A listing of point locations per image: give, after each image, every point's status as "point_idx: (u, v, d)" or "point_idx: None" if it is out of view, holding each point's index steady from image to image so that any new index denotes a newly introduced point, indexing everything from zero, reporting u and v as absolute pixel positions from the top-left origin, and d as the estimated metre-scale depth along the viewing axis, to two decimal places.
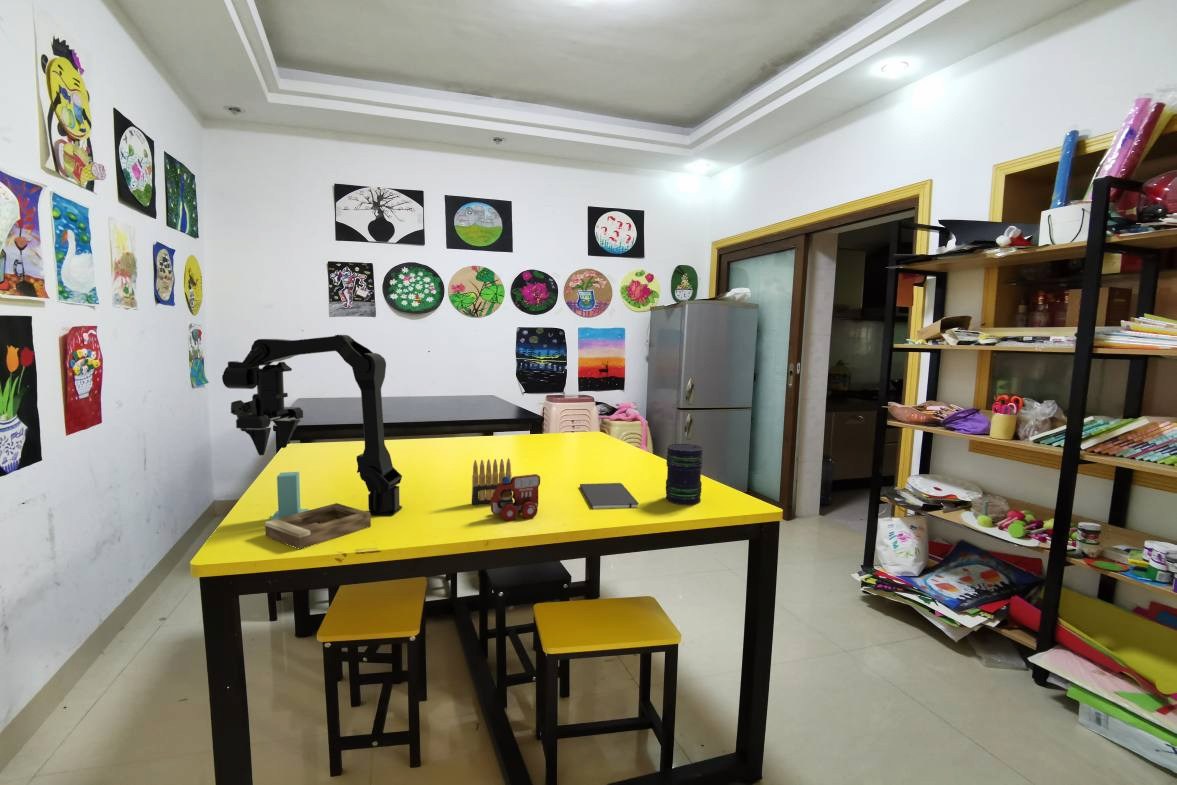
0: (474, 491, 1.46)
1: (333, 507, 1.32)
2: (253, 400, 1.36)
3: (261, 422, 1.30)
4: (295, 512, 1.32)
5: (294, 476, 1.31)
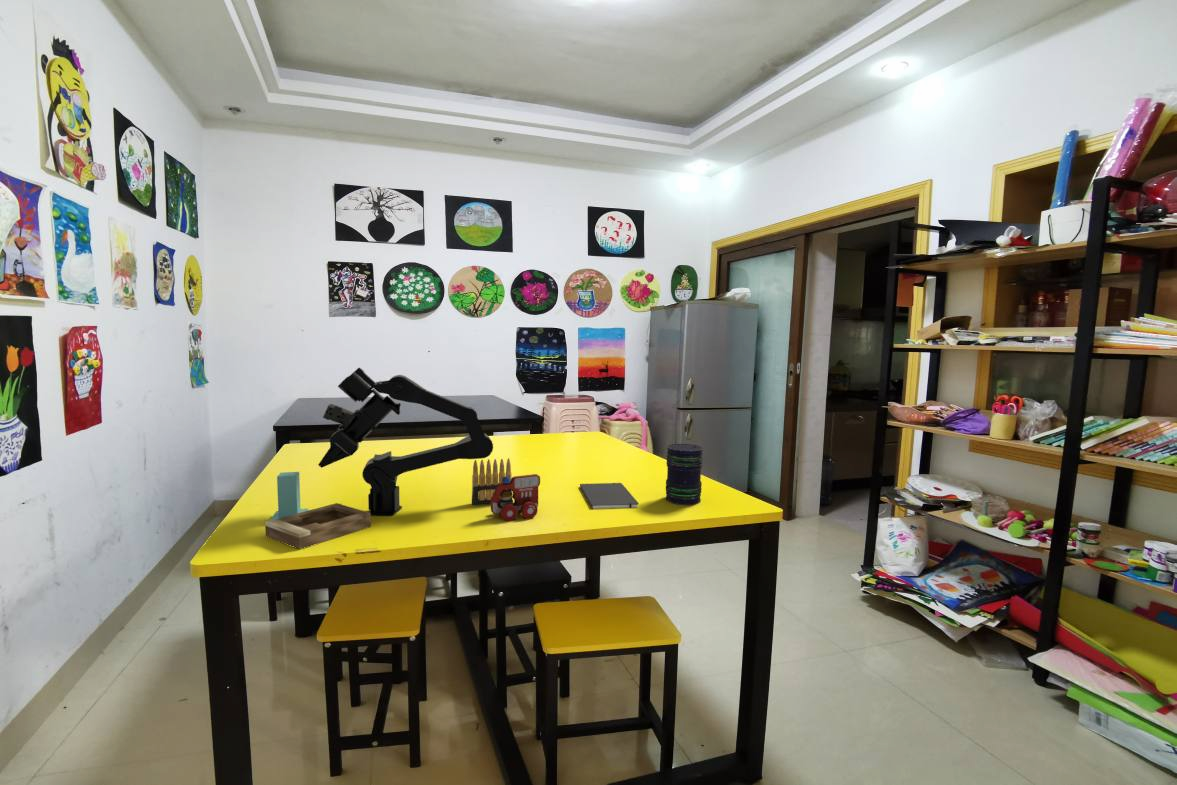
0: (474, 491, 1.46)
1: (333, 507, 1.32)
2: (352, 416, 1.33)
3: (355, 450, 1.28)
4: (295, 512, 1.32)
5: (294, 476, 1.31)
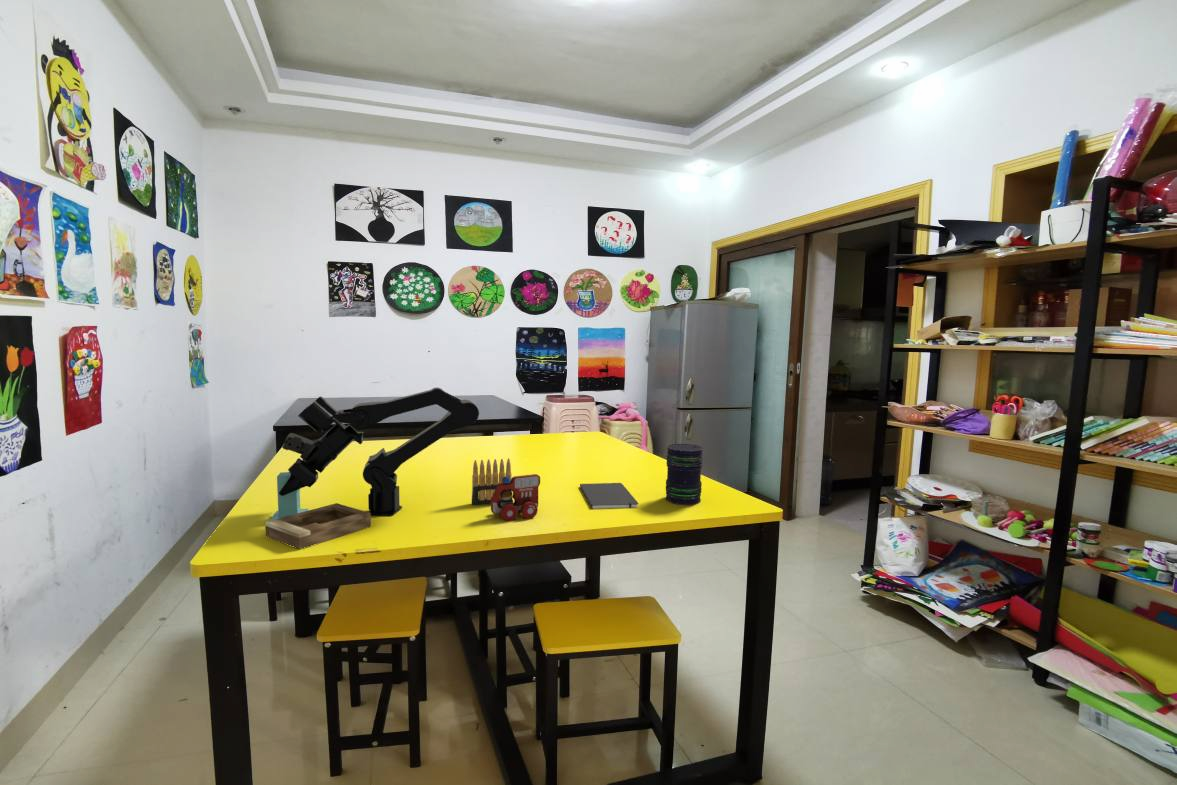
0: (474, 491, 1.46)
1: (333, 507, 1.32)
2: (312, 446, 1.31)
3: (314, 482, 1.26)
4: (295, 512, 1.32)
5: None
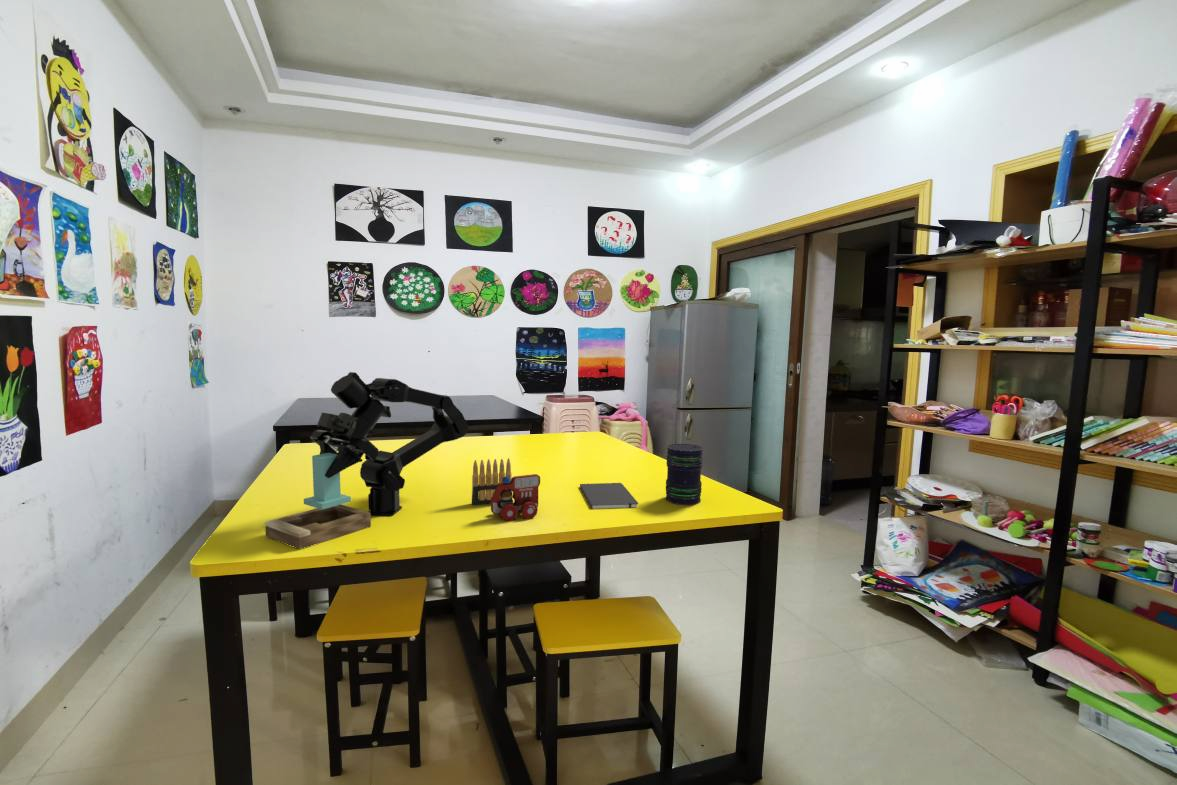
0: (474, 491, 1.46)
1: (333, 507, 1.32)
2: (355, 422, 1.28)
3: (377, 456, 1.26)
4: (339, 493, 1.26)
5: None
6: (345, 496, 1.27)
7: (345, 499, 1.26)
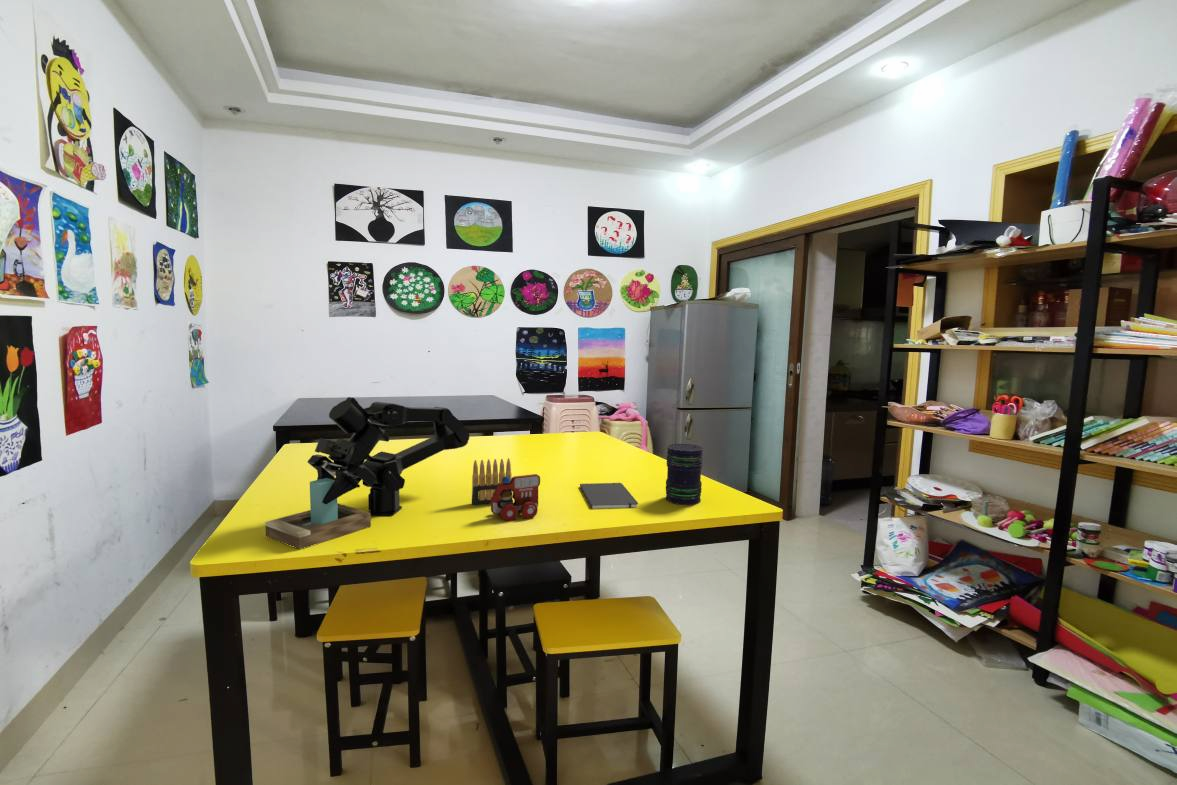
0: (474, 491, 1.46)
1: None
2: (352, 448, 1.28)
3: (374, 482, 1.26)
4: (336, 519, 1.26)
5: None
6: None
7: None
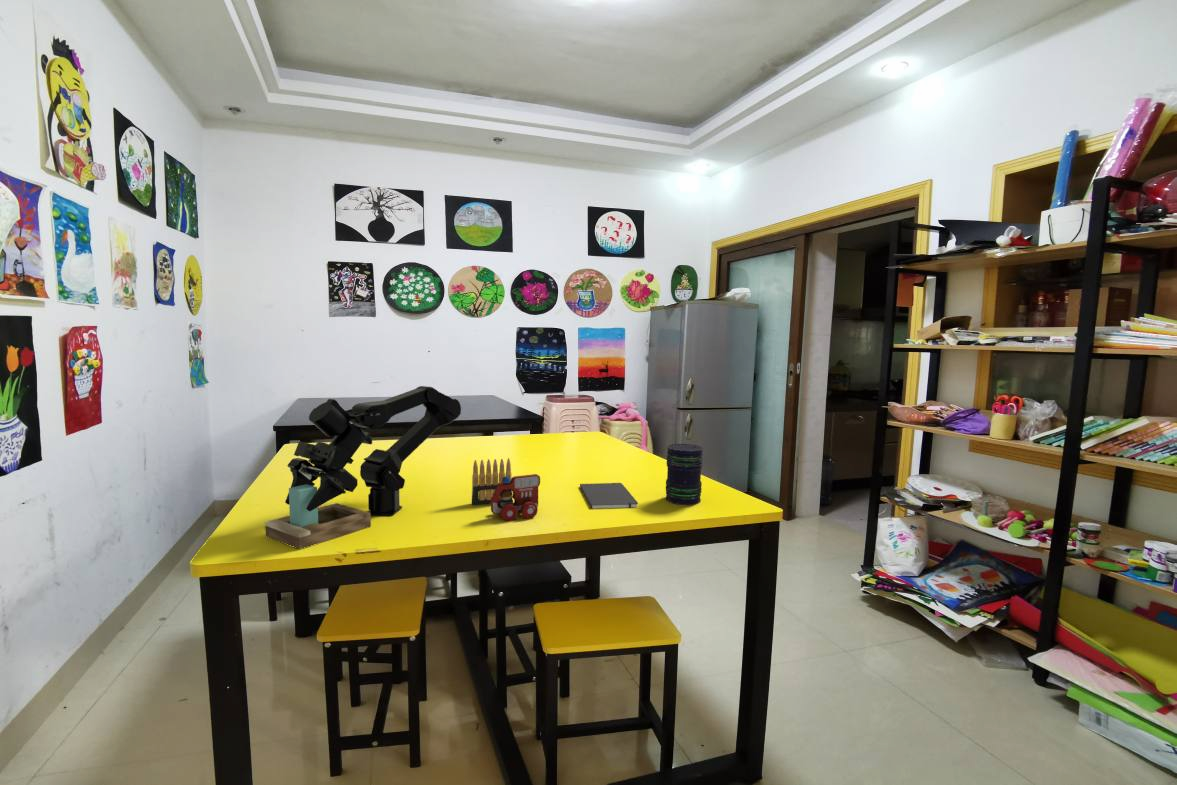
0: (474, 491, 1.46)
1: (333, 507, 1.32)
2: (333, 451, 1.24)
3: (356, 486, 1.22)
4: None
5: (315, 488, 1.21)
6: None
7: None
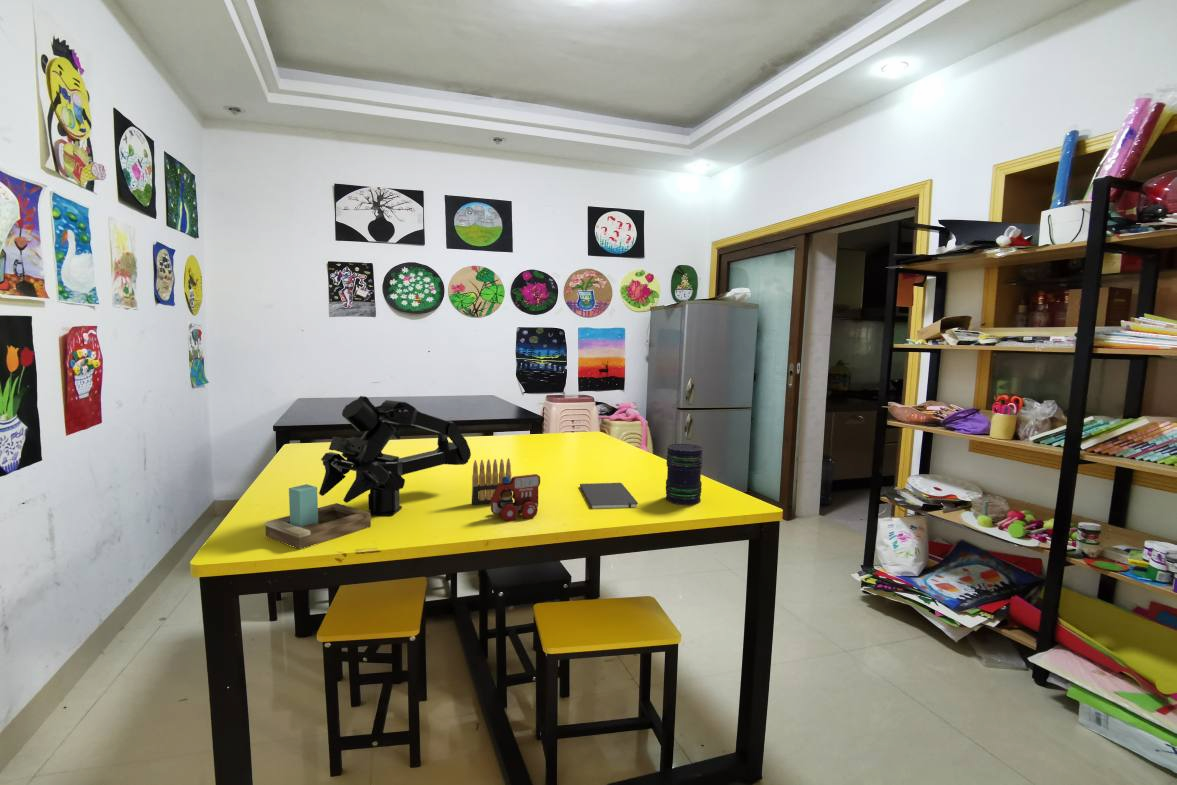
0: (474, 491, 1.46)
1: (333, 507, 1.32)
2: (365, 446, 1.31)
3: None
4: None
5: (315, 488, 1.21)
6: None
7: None
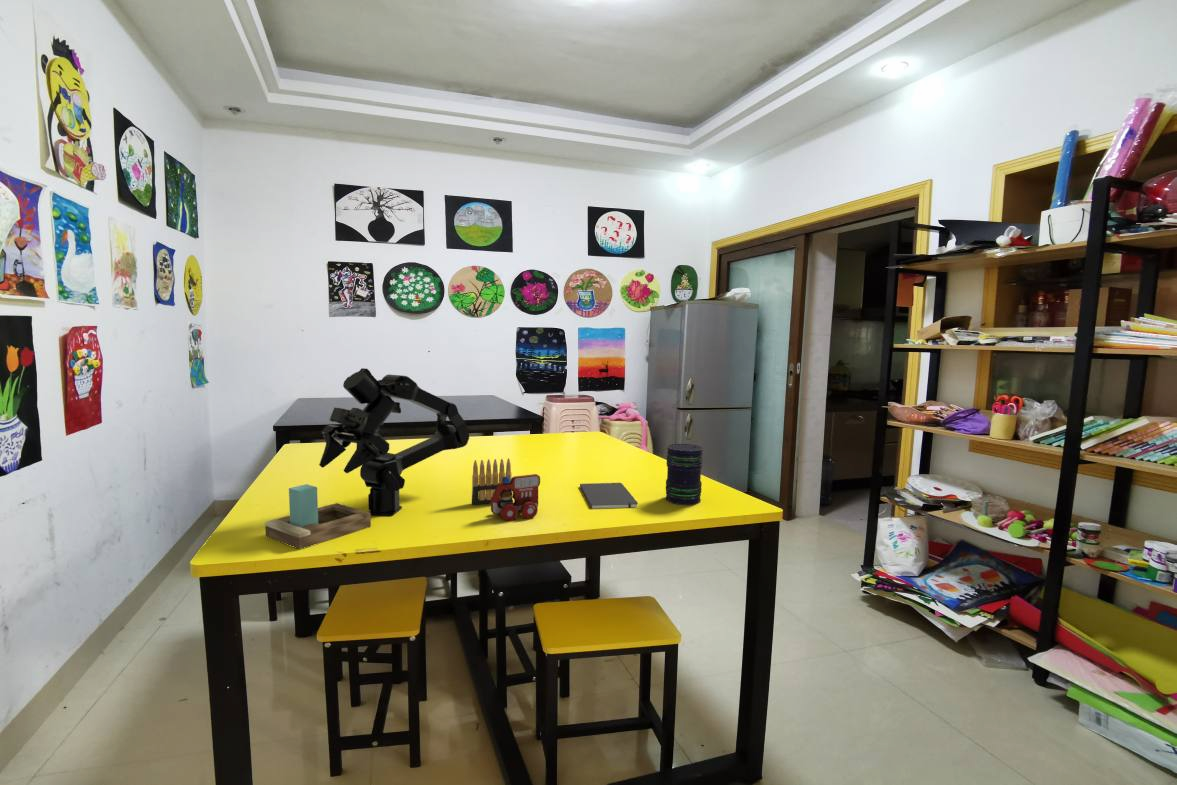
0: (474, 491, 1.46)
1: (333, 507, 1.32)
2: (366, 418, 1.30)
3: (388, 450, 1.29)
4: None
5: (315, 488, 1.21)
6: None
7: None
